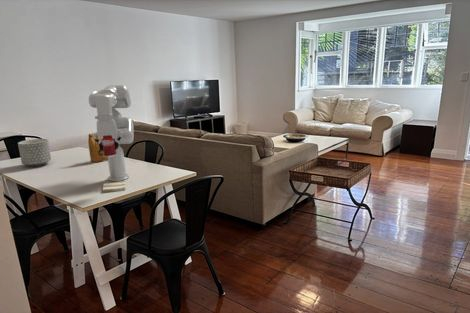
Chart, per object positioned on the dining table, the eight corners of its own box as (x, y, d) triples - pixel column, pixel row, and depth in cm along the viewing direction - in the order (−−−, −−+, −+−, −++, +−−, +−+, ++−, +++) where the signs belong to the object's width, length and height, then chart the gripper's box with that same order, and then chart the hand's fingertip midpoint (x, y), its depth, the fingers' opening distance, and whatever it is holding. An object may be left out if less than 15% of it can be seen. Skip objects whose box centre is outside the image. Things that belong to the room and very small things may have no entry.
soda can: (115, 156, 180) (112, 135, 177) (101, 157, 180) (98, 135, 177) (118, 153, 187) (116, 132, 184) (105, 154, 187) (102, 133, 184)
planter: (35, 169, 233) (30, 144, 229) (16, 167, 240) (11, 143, 235) (57, 162, 251) (53, 139, 246) (39, 161, 257) (35, 138, 253)
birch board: (104, 185, 195) (103, 183, 195) (125, 183, 199) (124, 181, 198) (102, 192, 184) (102, 190, 184) (125, 189, 188) (125, 187, 187)
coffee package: (110, 160, 254) (107, 132, 248) (94, 163, 245) (90, 134, 240) (105, 158, 261) (101, 130, 255) (89, 161, 252) (85, 133, 247)
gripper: (87, 120, 172) (92, 152, 177) (122, 117, 177) (125, 149, 182) (88, 118, 179) (93, 149, 184) (122, 116, 184) (125, 146, 189)
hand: (109, 149), depth 183 cm, fingers closed on soda can, 7 cm apart
